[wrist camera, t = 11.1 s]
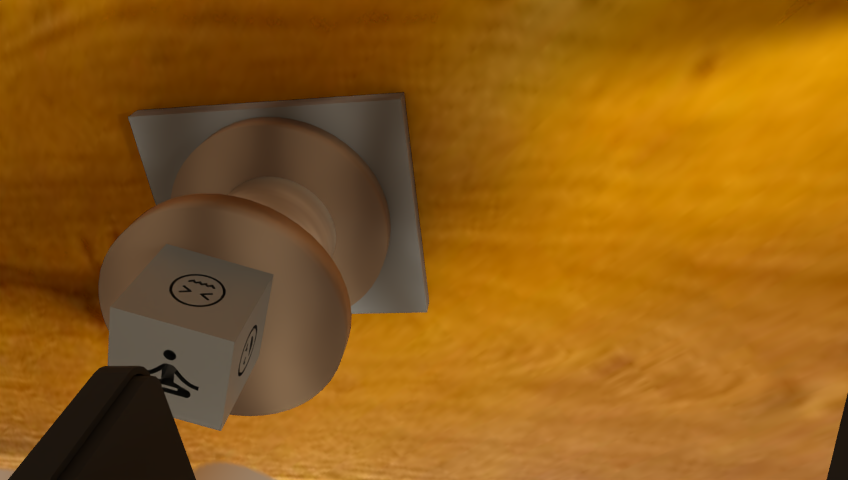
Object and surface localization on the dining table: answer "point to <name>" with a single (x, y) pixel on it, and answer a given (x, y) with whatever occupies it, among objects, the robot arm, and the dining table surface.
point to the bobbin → (285, 222)
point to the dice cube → (192, 330)
